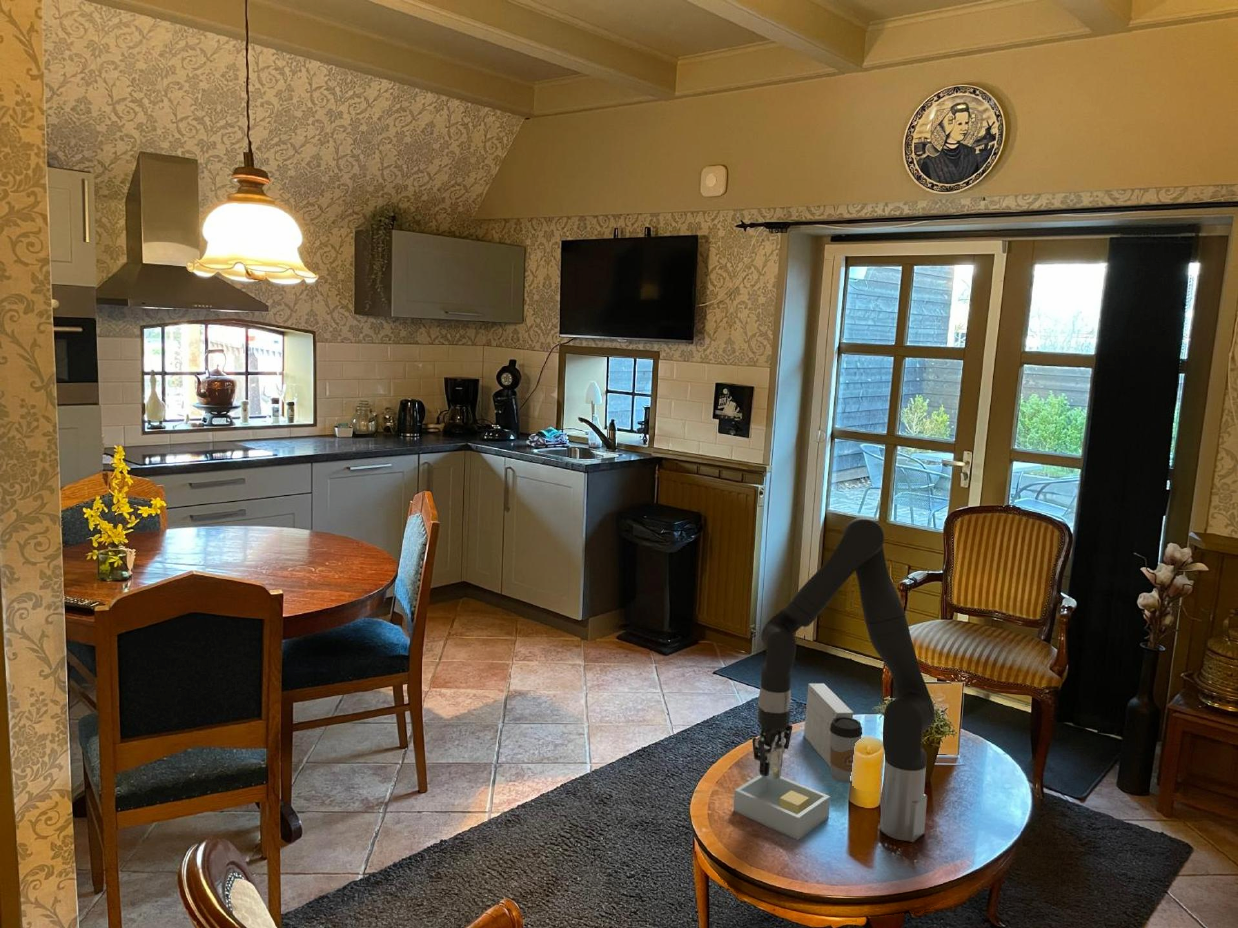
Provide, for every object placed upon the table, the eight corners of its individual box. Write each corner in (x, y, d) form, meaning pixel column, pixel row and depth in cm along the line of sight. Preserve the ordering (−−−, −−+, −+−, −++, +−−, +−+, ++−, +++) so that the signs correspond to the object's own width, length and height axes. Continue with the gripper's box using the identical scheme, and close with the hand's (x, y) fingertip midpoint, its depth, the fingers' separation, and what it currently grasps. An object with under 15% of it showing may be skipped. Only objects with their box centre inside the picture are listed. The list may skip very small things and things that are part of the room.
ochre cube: (790, 809, 226) (791, 790, 225) (808, 817, 222) (809, 797, 222) (778, 817, 222) (779, 797, 221) (796, 824, 219) (798, 805, 218)
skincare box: (850, 768, 249) (854, 712, 247) (831, 769, 248) (834, 713, 246) (820, 734, 270) (824, 681, 267) (803, 734, 269) (806, 682, 266)
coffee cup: (835, 785, 239) (839, 730, 237) (821, 770, 247) (824, 717, 245) (865, 782, 241) (868, 728, 239) (850, 767, 249) (853, 714, 247)
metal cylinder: (767, 767, 230) (769, 740, 228) (784, 774, 226) (786, 747, 225) (755, 773, 226) (757, 746, 225) (773, 781, 223) (774, 754, 221)
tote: (828, 817, 224) (830, 796, 223) (797, 839, 214) (798, 817, 213) (766, 790, 236) (767, 770, 235) (733, 810, 226) (734, 789, 225)
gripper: (778, 692, 231) (774, 756, 234) (744, 708, 221) (740, 775, 223) (804, 701, 226) (799, 766, 229) (770, 718, 216) (766, 786, 218)
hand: (770, 770), depth 226 cm, fingers closed on metal cylinder, 5 cm apart
